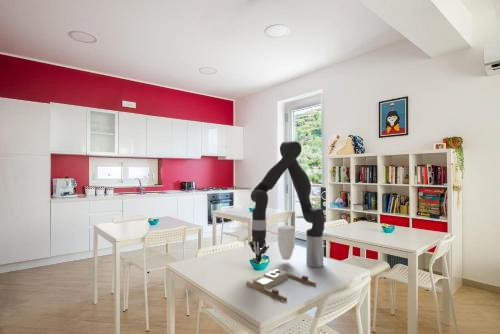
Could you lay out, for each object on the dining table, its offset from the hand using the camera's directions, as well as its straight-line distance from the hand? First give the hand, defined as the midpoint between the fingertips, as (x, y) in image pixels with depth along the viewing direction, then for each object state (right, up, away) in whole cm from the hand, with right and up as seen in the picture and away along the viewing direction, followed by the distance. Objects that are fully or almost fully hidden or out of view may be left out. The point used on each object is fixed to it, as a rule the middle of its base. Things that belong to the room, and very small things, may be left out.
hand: (258, 261), depth 146 cm
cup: (+17, -8, +20) cm, 28 cm away
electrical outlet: (+6, -9, -7) cm, 12 cm away
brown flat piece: (+11, -8, -11) cm, 17 cm away
